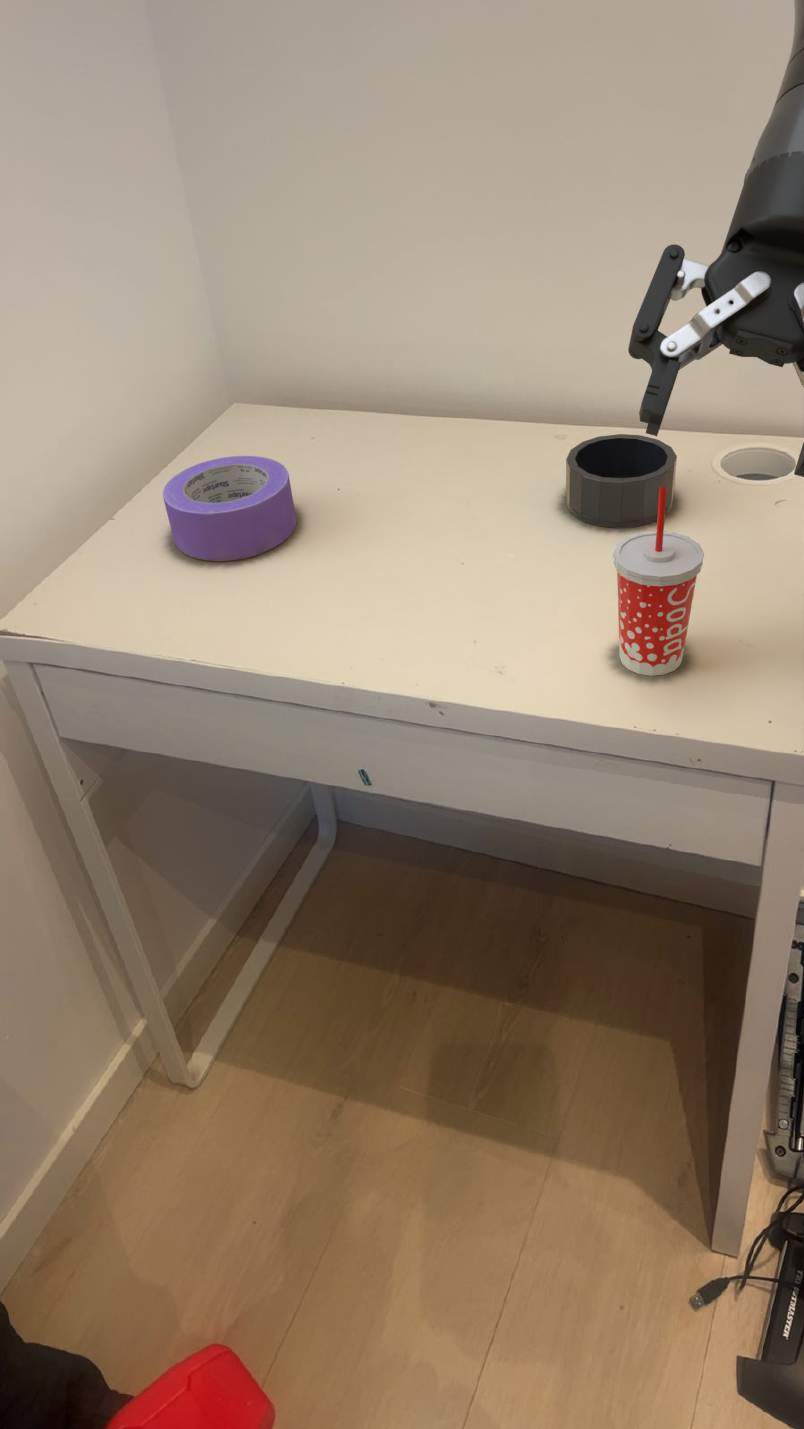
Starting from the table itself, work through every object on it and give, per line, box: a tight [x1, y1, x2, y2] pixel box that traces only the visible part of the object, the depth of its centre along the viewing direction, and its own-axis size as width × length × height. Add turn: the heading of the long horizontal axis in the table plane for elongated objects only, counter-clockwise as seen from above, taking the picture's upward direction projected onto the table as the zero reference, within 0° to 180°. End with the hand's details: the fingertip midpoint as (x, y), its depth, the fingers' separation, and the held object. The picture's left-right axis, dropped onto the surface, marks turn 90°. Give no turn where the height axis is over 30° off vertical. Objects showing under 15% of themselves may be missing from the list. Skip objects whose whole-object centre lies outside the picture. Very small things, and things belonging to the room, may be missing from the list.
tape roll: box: [162, 455, 297, 562], centre depth 97 cm, size 12×12×5 cm
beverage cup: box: [613, 485, 705, 677], centre depth 73 cm, size 6×6×14 cm
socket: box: [565, 433, 678, 529], centre depth 95 cm, size 10×10×4 cm
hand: (727, 450), depth 58 cm, fingers open, 8 cm apart
